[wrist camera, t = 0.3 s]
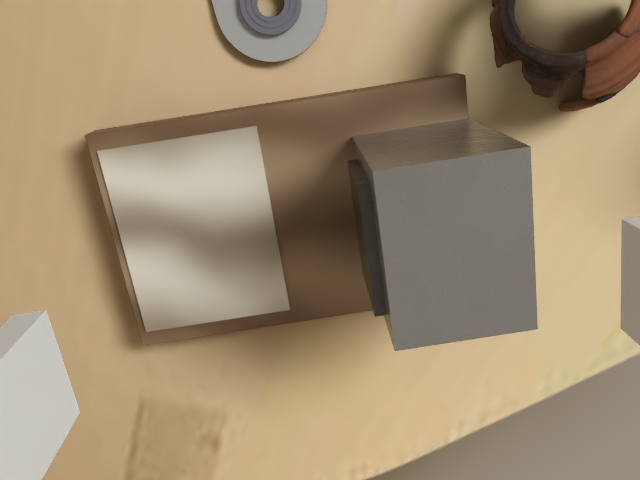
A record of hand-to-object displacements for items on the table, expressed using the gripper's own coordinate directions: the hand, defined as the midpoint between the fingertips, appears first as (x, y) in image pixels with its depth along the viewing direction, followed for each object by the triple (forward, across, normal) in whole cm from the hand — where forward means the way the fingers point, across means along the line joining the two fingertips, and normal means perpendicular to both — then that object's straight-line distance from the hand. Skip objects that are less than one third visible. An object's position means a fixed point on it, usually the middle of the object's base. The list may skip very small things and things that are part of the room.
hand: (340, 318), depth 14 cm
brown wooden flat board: (+26, -2, -4) cm, 26 cm away
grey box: (+24, +6, -4) cm, 25 cm away
